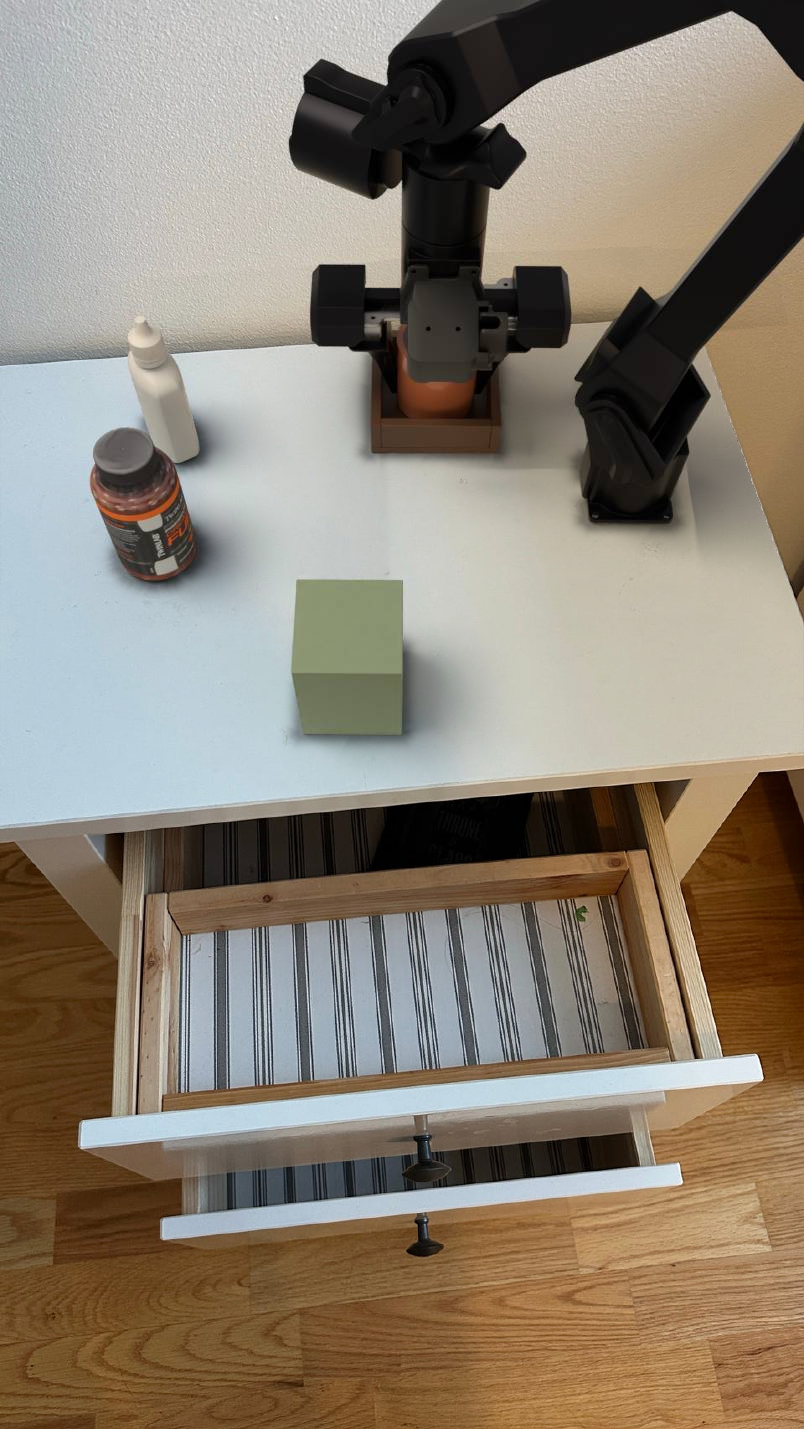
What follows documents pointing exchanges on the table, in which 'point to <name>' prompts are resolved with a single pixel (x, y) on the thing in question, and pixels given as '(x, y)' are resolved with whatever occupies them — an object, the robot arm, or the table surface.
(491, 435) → the tray
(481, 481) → the table surface
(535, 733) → the table surface
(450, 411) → the cup
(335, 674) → the sage green cube
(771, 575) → the table surface
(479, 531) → the table surface
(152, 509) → the supplement bottle
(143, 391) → the eye dropper bottle
